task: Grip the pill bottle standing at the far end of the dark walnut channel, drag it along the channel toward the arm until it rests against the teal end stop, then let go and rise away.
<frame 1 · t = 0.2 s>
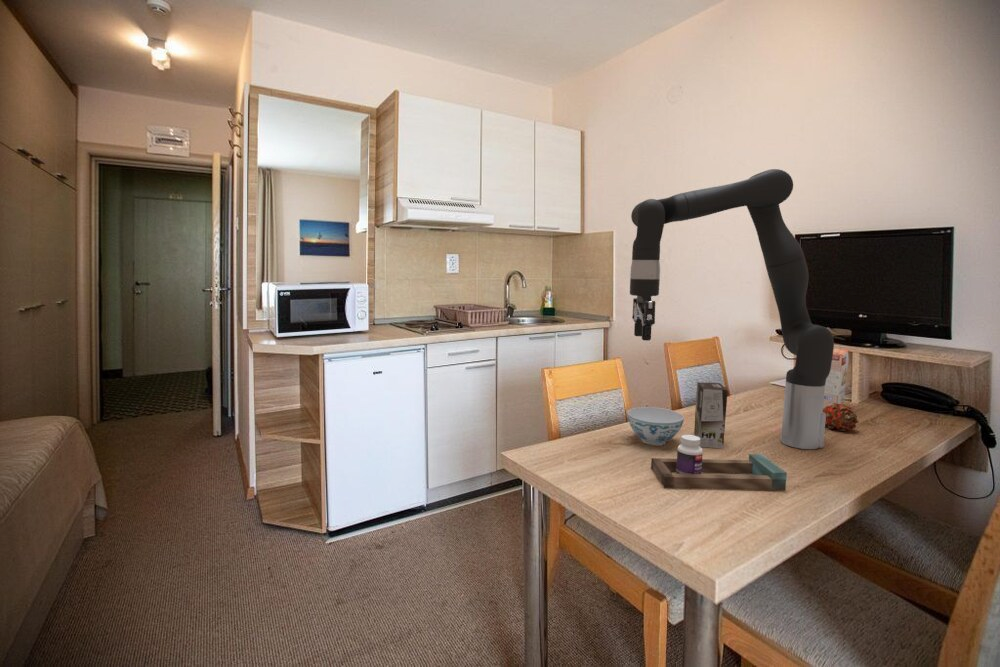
hand: (642, 338, 136), 29 cm above the table, tool pointing down, fingers open, 8 cm apart
channel: (714, 478, 115), on the table
chinaware: (653, 442, 140), on the table
coffee box: (708, 443, 140), on the table
pill bottle: (688, 479, 116), resting in channel
cracker box: (830, 411, 173), on the table
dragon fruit: (835, 429, 154), on the table
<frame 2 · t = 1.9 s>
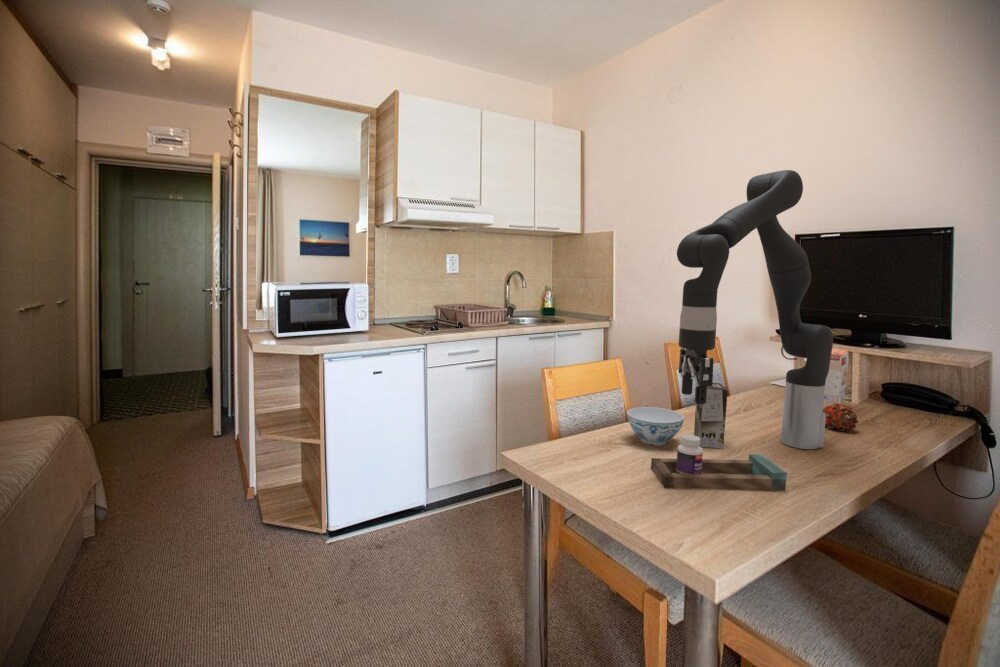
hand: (693, 398, 113), 19 cm above the table, tool pointing down, fingers open, 8 cm apart
nothing on the table moved.
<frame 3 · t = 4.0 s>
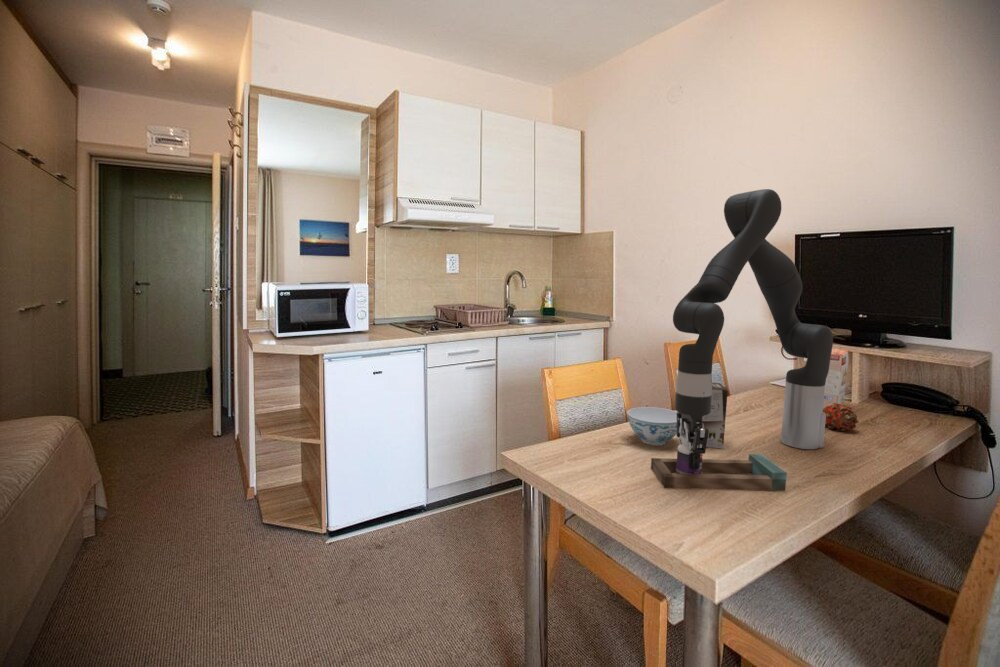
hand: (689, 463, 115), 3 cm above the table, tool pointing down, fingers closed on pill bottle, 5 cm apart
pill bottle: (688, 479, 116), resting in channel, touching gripper
everything else where it was.
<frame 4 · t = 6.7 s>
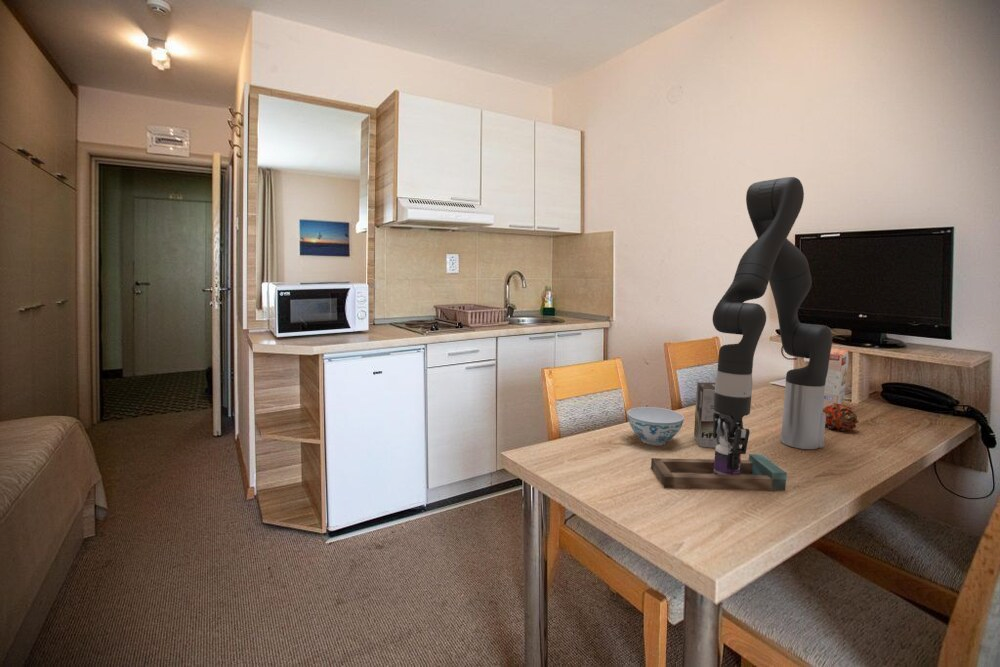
hand: (726, 464, 115), 4 cm above the table, tool pointing down, fingers closed on pill bottle, 5 cm apart
pill bottle: (725, 479, 115), resting in channel, touching gripper
everything else where it was.
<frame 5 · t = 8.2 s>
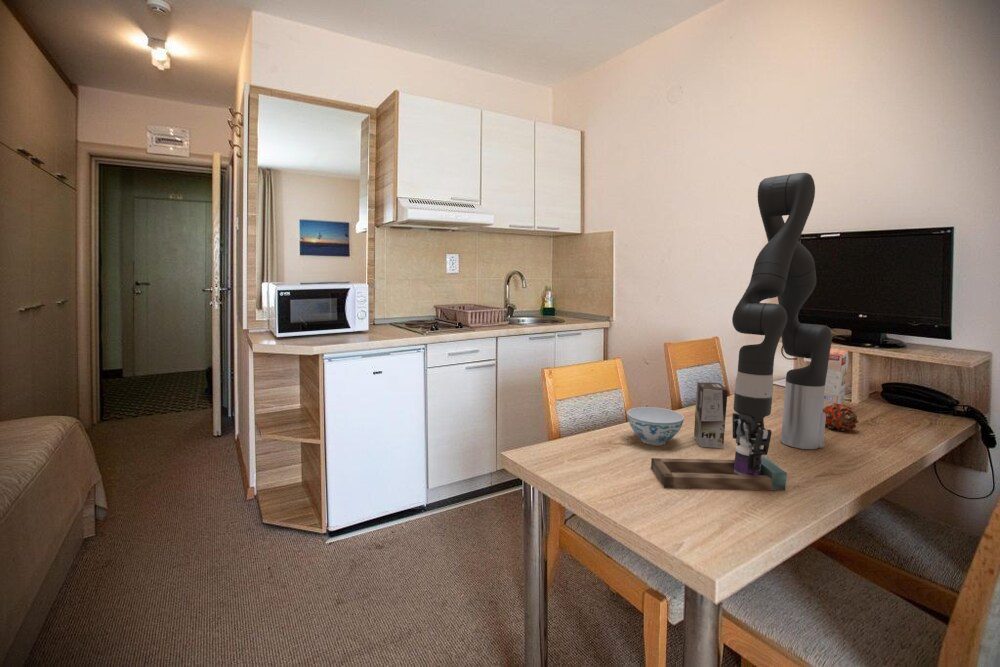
hand: (747, 464, 115), 4 cm above the table, tool pointing down, fingers closed on pill bottle, 5 cm apart
pill bottle: (746, 480, 115), resting in channel, touching gripper
everything else where it was.
when the fingers open (4 cm above the table, at t = 9.2 s): pill bottle stays where it is, resting in channel.
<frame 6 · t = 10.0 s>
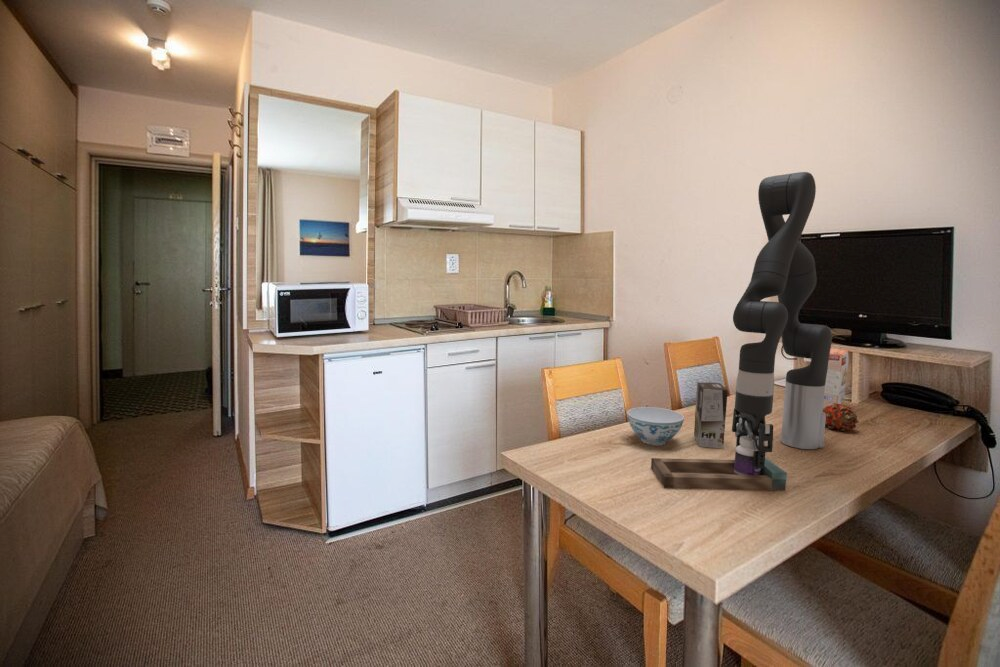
hand: (749, 460, 115), 5 cm above the table, tool pointing down, fingers open, 8 cm apart
pill bottle: (746, 480, 115), resting in channel
everything else where it was.
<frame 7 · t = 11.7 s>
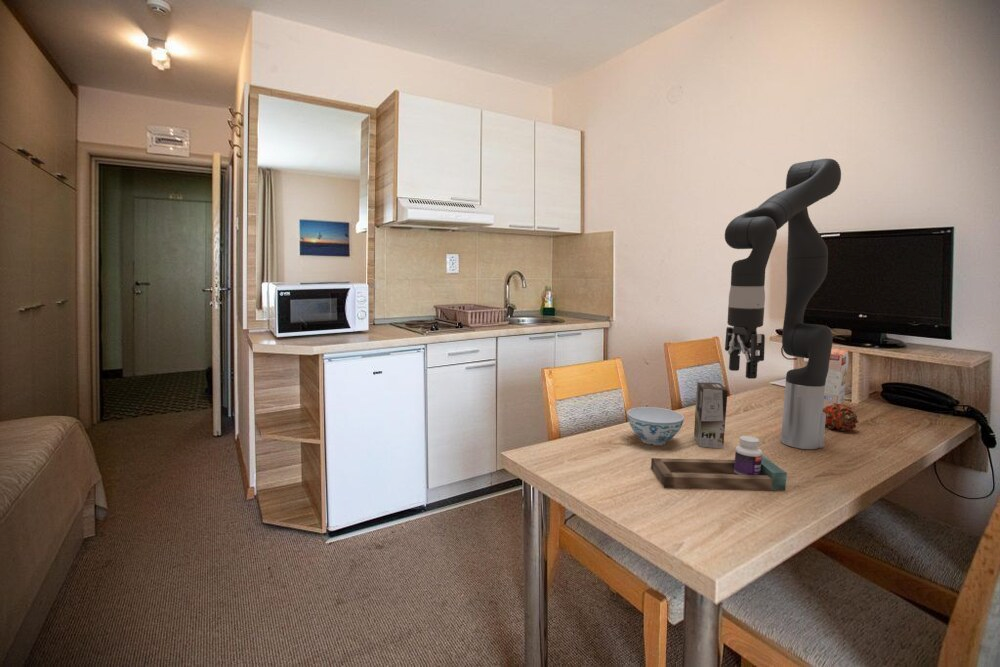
hand: (742, 374, 119), 23 cm above the table, tool pointing down, fingers open, 8 cm apart
nothing on the table moved.
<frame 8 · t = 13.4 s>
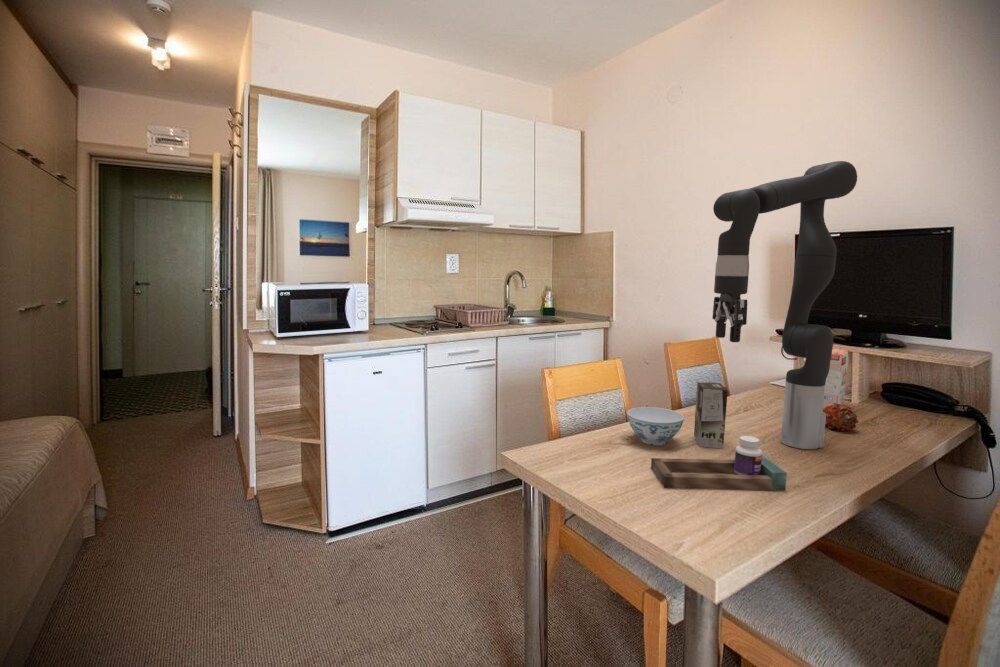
hand: (727, 339, 126), 30 cm above the table, tool pointing down, fingers open, 8 cm apart
nothing on the table moved.
at the end: pill bottle 0.1 cm from the target spot, resting in channel; pill bottle tilted 0°; the gripper is holding nothing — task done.
